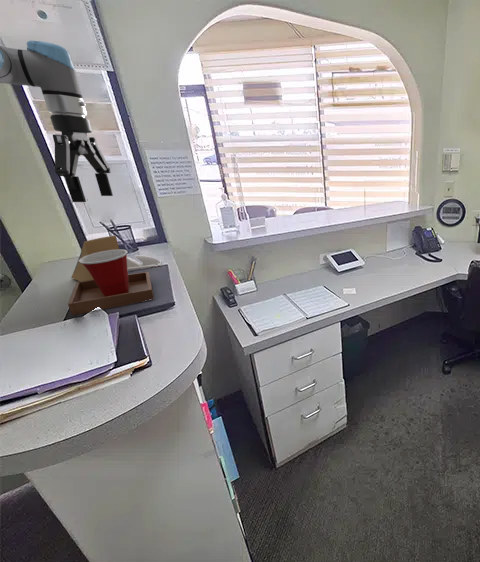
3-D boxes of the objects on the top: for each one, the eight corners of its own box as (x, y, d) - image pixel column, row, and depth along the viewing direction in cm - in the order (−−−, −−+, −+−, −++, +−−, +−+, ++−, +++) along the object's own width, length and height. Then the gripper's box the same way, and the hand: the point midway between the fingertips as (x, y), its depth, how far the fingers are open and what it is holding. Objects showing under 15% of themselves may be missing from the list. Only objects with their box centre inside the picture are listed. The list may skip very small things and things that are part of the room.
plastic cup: (90, 292, 91) (76, 253, 86) (135, 283, 98) (125, 246, 93) (92, 304, 84) (77, 263, 79) (141, 294, 91) (130, 255, 86)
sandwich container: (100, 270, 108) (87, 227, 102) (128, 278, 103) (116, 235, 97) (69, 277, 101) (54, 233, 95) (98, 287, 96) (83, 241, 90)
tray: (72, 315, 80) (67, 304, 78) (79, 292, 93) (76, 282, 91) (154, 299, 89) (151, 289, 88) (150, 280, 102) (148, 271, 101)
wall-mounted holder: (157, 254, 113) (86, 262, 104) (160, 266, 115) (90, 274, 106) (158, 250, 118) (90, 256, 109) (161, 261, 120) (94, 269, 111)
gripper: (52, 110, 71) (82, 205, 79) (111, 121, 93) (130, 193, 101) (12, 108, 69) (47, 205, 77) (81, 119, 91) (103, 193, 99)
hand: (94, 198), depth 89 cm, fingers open, 13 cm apart
